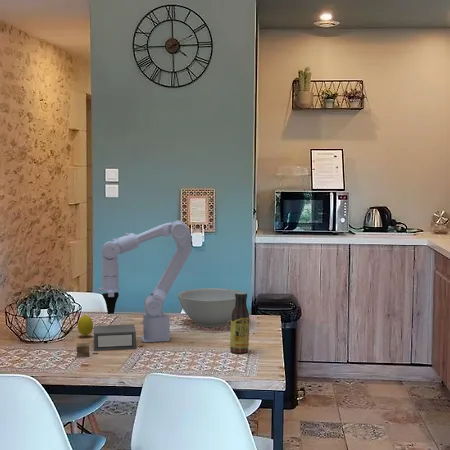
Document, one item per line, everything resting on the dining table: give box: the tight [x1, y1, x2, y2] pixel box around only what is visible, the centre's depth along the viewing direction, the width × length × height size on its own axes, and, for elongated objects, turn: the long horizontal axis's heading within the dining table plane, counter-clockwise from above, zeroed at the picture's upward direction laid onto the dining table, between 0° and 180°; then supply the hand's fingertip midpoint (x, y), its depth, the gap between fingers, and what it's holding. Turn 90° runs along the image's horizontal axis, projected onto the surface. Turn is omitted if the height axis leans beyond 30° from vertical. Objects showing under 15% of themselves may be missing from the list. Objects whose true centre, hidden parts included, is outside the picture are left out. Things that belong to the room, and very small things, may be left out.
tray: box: [98, 334, 132, 347], centre depth 224 cm, size 11×10×4 cm
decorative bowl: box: [177, 287, 242, 329], centre depth 257 cm, size 27×27×12 cm
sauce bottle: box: [229, 291, 251, 354], centre depth 217 cm, size 6×6×20 cm
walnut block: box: [76, 342, 90, 358], centre depth 212 cm, size 4×4×4 cm
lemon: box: [77, 314, 94, 337], centre depth 236 cm, size 6×6×8 cm
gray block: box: [93, 323, 137, 352], centre depth 224 cm, size 14×11×6 cm
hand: (110, 313), depth 230 cm, fingers closed
